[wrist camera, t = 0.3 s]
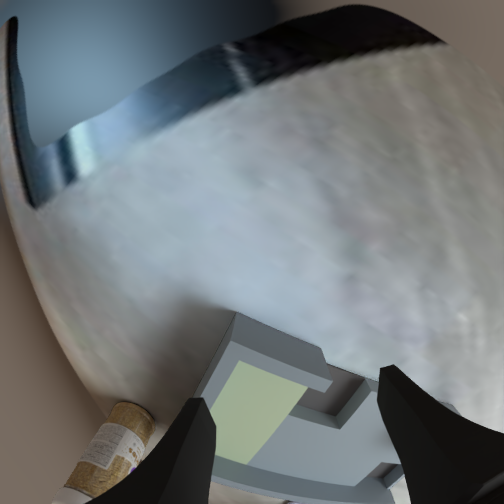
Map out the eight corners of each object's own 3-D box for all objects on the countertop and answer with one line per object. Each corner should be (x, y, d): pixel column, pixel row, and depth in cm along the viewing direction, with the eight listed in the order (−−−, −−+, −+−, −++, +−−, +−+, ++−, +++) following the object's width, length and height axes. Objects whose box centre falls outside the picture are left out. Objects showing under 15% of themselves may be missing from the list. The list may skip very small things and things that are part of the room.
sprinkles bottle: (159, 437, 24) (116, 545, 11) (118, 428, 24) (64, 524, 11) (152, 404, 23) (95, 520, 10) (108, 395, 23) (39, 494, 10)
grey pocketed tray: (380, 482, 25) (389, 508, 21) (174, 430, 24) (163, 463, 19) (458, 398, 22) (479, 422, 18) (236, 311, 21) (230, 340, 17)
